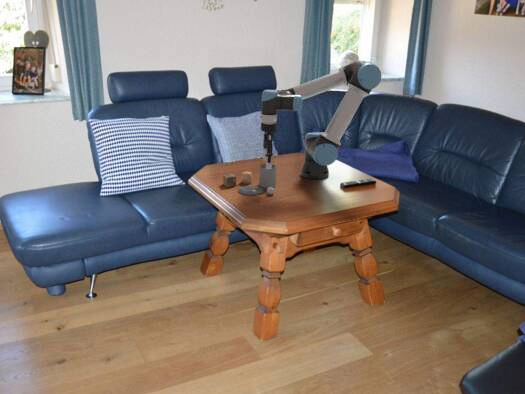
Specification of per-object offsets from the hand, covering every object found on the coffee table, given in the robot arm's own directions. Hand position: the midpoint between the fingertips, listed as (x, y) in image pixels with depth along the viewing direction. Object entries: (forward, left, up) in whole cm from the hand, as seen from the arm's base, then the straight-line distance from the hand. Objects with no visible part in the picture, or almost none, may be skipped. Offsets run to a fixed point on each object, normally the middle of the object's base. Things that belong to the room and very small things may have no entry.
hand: (267, 165), depth 255 cm
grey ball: (0, +14, -11) cm, 18 cm away
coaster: (+9, +9, -11) cm, 16 cm away
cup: (0, 0, -11) cm, 11 cm away
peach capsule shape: (+10, -5, -11) cm, 15 cm away
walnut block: (+19, -1, -11) cm, 21 cm away
